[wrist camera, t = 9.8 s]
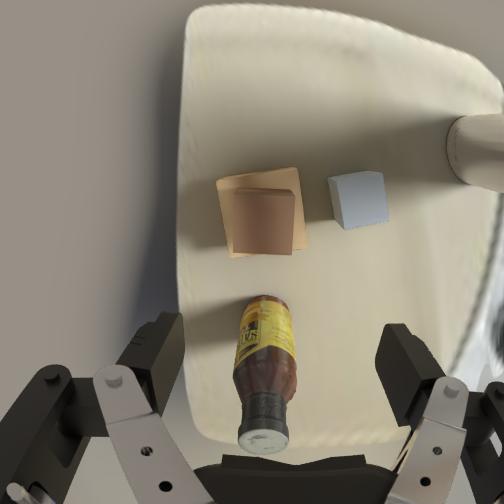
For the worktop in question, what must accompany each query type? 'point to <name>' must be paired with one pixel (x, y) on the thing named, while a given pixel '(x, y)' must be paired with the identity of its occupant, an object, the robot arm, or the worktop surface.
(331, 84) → the worktop surface
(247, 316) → the sauce bottle
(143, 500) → the robot arm
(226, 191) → the oak block
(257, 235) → the walnut cube
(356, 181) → the slate-blue cube
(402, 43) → the worktop surface
